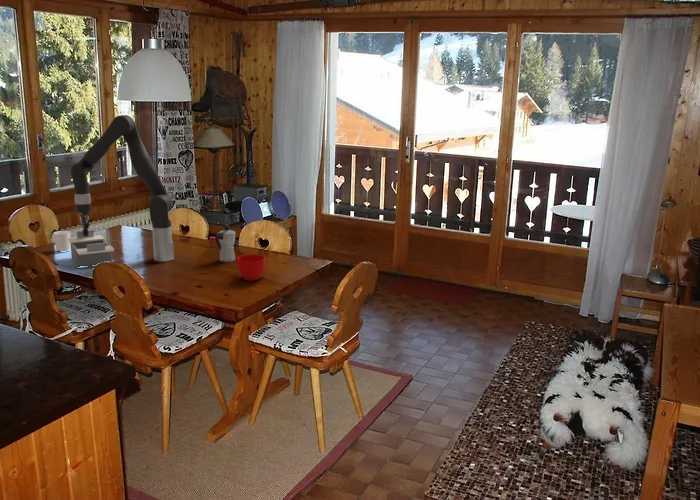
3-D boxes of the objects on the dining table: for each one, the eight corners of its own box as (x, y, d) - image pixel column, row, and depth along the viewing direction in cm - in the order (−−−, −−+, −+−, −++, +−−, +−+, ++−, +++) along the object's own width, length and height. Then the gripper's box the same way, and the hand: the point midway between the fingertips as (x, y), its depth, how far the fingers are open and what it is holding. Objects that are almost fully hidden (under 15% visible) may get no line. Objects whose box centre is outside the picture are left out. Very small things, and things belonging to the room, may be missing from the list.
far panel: (101, 236, 343) (100, 228, 342) (104, 240, 337) (103, 231, 336) (68, 239, 335) (67, 231, 334) (70, 243, 329) (70, 235, 328)
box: (105, 256, 341) (103, 239, 338) (111, 264, 328) (110, 246, 325) (71, 260, 333) (70, 242, 330) (77, 268, 320) (75, 250, 317)
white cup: (60, 253, 343) (58, 235, 341) (52, 251, 348) (50, 232, 345) (74, 250, 349) (73, 232, 347) (66, 248, 354) (64, 229, 351)
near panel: (110, 247, 325) (110, 238, 323) (114, 251, 318) (113, 242, 317) (76, 250, 316) (75, 242, 315) (79, 254, 310) (78, 246, 309)
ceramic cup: (246, 270, 323) (246, 251, 321) (270, 278, 313) (270, 258, 310) (226, 276, 314) (225, 256, 311) (250, 284, 303) (250, 263, 301)
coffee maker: (229, 255, 349) (228, 222, 344) (242, 258, 344) (241, 224, 339) (209, 262, 336) (208, 227, 331) (222, 264, 332) (221, 230, 327)
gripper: (93, 204, 327) (96, 238, 332) (88, 199, 338) (90, 232, 343) (77, 205, 324) (80, 239, 328) (72, 200, 334) (75, 233, 339)
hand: (85, 235), depth 335 cm, fingers closed
